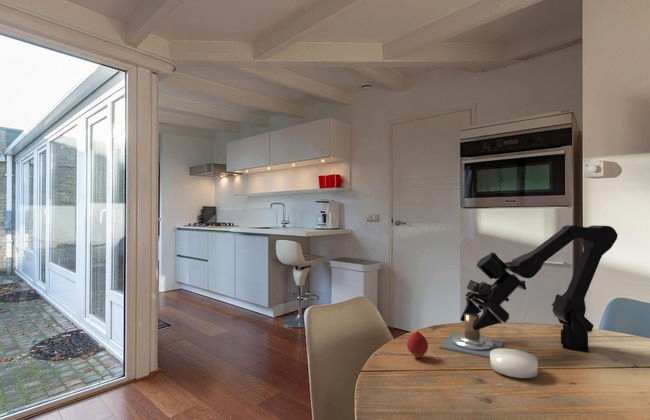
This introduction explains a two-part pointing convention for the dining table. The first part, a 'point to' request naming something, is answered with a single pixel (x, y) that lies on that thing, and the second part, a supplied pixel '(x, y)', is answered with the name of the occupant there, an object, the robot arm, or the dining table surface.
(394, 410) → the dining table surface
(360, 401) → the dining table surface
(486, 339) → the cylinder on round base
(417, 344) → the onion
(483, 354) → the mat
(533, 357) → the white rounded piece
